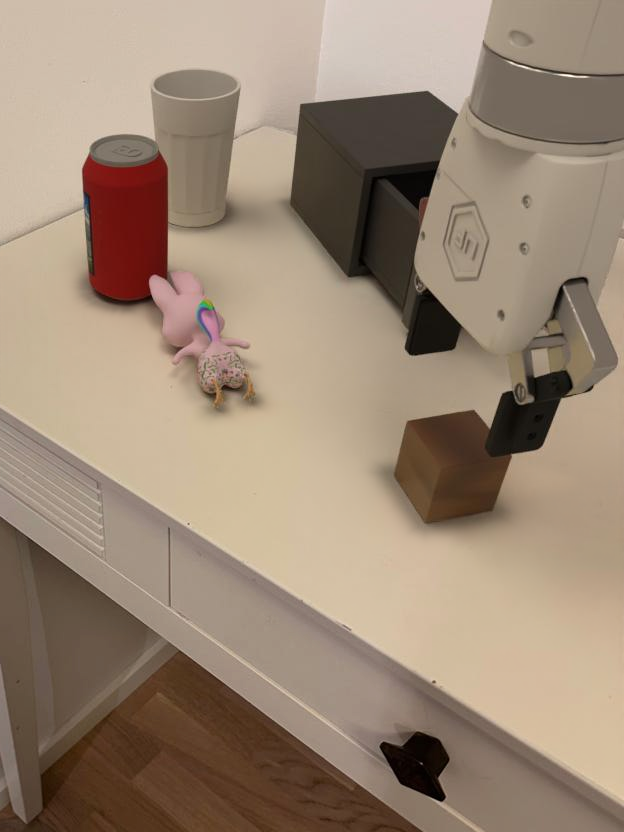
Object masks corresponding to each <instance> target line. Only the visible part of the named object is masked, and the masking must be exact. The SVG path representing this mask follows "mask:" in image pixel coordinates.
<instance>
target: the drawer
mask: <svg viewBox="0 0 624 832" xmlns="http://www.w3.org/2000/svg"><path fill="white" fill-rule="evenodd" d="M436 173H437V170H430V171H421V172H413V173H405V174H396V175H388V176H379V177H372V184H371V190H370V196H369V202H368V208H367V214H366V220H365V226H364V232H363V238H362V244H361V250H360V256H359V257H360V258H361V259H362V260H363V261H364V263H365V264H366V265H367V266H368V267H369V269H370V270H371V271H372V272H373V273H372V274H373V275H374V276H375V277H376V278H377V280H378V281H379V282H380V283H381V285H382V286H383V287H384V288H385V289H386V290H387V292H389V294H390V295H391V296H392V297H393V298H394V300H395V302H397V303H398V305H399V306H400V307H401V308H402V309H403V312H402V316H401V323H402V325H403V326H404V327H405V328H406V329H407V330H409V326H410V321H411V317H412V313H413V308H414V304H415V300H416V295H422V293H423V292H421V293H419V292H418V291H417V290H416V288H415V283H414V280H415V275H416V274H417V272H416V269H415V265H414V258H415V252H416V243H417V240H418V238H419V234H420V225H419V203H420V200H421V199H422V198H425V197H429V196H430V193H431V189H432V186H433V182H434V179H435V176H436Z"/></svg>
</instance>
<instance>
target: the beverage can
mask: <svg viewBox="0 0 624 832" xmlns="http://www.w3.org/2000/svg"><path fill="white" fill-rule="evenodd" d="M81 178H82V179H81V180H82V196H83V200H82V201H83V214H84V229H85V242H86V244H85V245H86V256H87V257H86V258H87V259H86V260H87V270H88V279H89V284H90V286H91V287H92V289H94V290H95V291H97V292H98V293H100V294H102V295H104V296H107V297H108V298H110V299H113V300H118V301H128V302H129V301H138V300H141V299H145V298H147V297H149V296H150V295H151V296H152V294H151V290H150V286H149V280H150V278H151V276H153V275H157V276H159V277H161V278H163V279H165V280H167V281H168V271H169V270H168V265H169V264H168V263H169V222H168V167H167V164H166V162H165V160H164V158H163V156H162V155H161V153H160V151H159V146H158V144H157V142H155V139H152V138H150V137H148V136H144V135H141V134H132V133H121V134H120V133H119V134H112V135H107V136H103V137H101V138H98V139H96V140H95V141H94V142H92V143H91V145H90V146H89V152H88V154H87V157H86V159H85V161H84V163H83V165H82V167H81Z"/></svg>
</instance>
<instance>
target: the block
mask: <svg viewBox="0 0 624 832" xmlns="http://www.w3.org/2000/svg"><path fill="white" fill-rule="evenodd" d="M490 428H491V427H489V425H488V424H487V423H486V422H485V421H484V419H483V418H482V417H481V416H480V414H479V413H478V412H477V411H476V410H475V409H468V410H463V411H457V412H451V413H445V414H439V415H432V416H427V417H421V418H415V419H410V420H409V419H407V420H406V423H405V426H404V431H403V436H402V439H401V443H400V448H399V452H398V456H397V460H396V464H395V467H394V473H393V476H394V477H395V480H397V483H398V484H399V486H400V487H401V488H402V490H403V491H404V492H405V495H406V496H407V497H408V499H409V501H410V502H411V503H412V505H413V506H414V508H415V509H416V511H417V513H418V514H419V516H420V517H421V519H422V520H423V522H424V523H425V524H430V523H434V522H440V521H445V520H450V519H456V518H461V517H467V516H473V515H477V514H482V513H488V512H493V510H494V509H495V506H496V504H497V503H496V502H497V500H498V497H499V495H500V492H501V490H502V487H503V483H504V480H505V477H506V475H507V472H508V469H509V466H510V464H511V461H512V458H513V454H511V455H505V456H499V457H490V456H489V454H488V453H487V452H486V451H485V443H486V440H487V437H488V434H489V431H490Z"/></svg>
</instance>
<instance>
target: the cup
mask: <svg viewBox="0 0 624 832" xmlns="http://www.w3.org/2000/svg"><path fill="white" fill-rule="evenodd" d="M149 84H150V85H149V87H150V98H151V107H152V108H151V109H152V119H153V129H154V141H155V142H157V144H158V146H159V151H160V153H161V155H162V156H163V158H164V160H165V162H166V164H167V167H168V224H169V223H170V224H172V225H175V226H179V227H186V228H200V227H207V226H211V225H213V224H216V223H218V222H220V221H222V219H223V218H224V217H225V216H226V207H227V193H228V185H229V178H230V171H231V162H232V154H233V146H234V138H235V131H236V130H235V129H236V123H237V118H238V117H237V115H238V109H239V102H240V96H241V89H242V83H241V80H240V79H239V78H238V77H237V76H235V75H233V74H231V73H229V72H225V71H222V70H217V69H210V68H200V67H199V68H195V67H193V68H181V69H174V70H169V71H166V72H164V73H161V74H159V75H156V76H155V77H153V79H151V81H150V83H149Z"/></svg>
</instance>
